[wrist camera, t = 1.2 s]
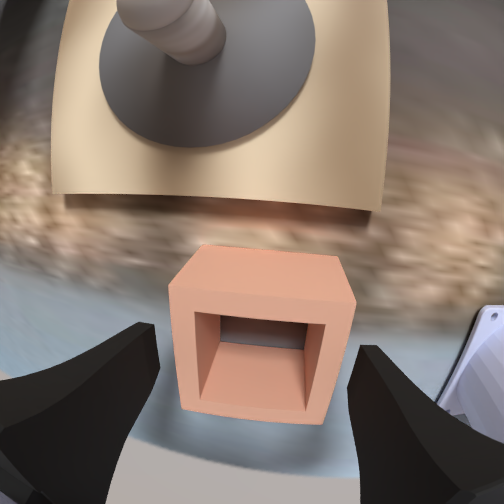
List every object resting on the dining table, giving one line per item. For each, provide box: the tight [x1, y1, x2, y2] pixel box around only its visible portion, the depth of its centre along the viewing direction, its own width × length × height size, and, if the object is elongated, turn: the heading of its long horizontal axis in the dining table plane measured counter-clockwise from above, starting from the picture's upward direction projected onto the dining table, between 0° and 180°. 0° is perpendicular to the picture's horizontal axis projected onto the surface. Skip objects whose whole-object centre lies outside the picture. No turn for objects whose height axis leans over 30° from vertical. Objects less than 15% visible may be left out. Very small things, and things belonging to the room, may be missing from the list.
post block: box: [51, 0, 390, 212], centre depth 7 cm, size 14×12×6 cm
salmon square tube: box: [168, 245, 356, 425], centre depth 12 cm, size 6×6×4 cm
